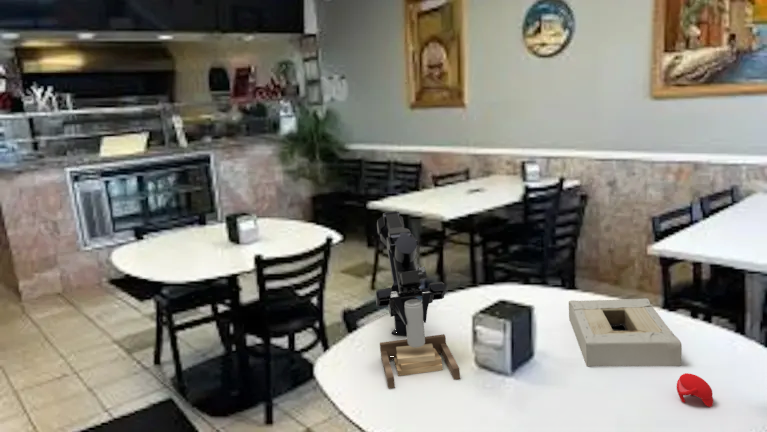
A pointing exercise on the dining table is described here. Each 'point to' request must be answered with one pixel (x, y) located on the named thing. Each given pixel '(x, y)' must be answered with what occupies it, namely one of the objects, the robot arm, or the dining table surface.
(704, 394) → the red curved shell piece
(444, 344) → the offcut rack
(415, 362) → the offcut stack
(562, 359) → the dining table surface
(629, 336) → the box
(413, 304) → the beverage can
